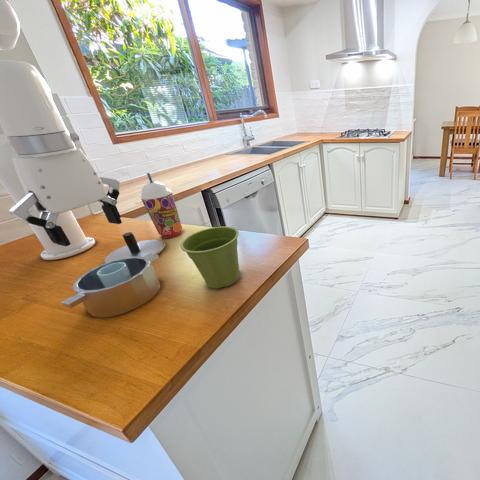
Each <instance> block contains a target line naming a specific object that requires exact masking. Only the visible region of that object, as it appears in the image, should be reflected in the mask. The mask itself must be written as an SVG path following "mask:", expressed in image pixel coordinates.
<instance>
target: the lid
mask: <svg viewBox="0 0 480 480" xmlns="http://www.w3.org/2000/svg"><path fill="white" fill-rule="evenodd" d="M121 236H122V237H123V240H124V242H125V244H126V245H123V246H121V247H119V248H117V249H115V250H113V251H112V252H110V253H109V254H108V255H107V256H106V257H105V258H104V264H105V263H108V262H110V261H113V260H117V259H121V258H126V257H136V256H140V257H144V256H146V255H148V254H150V253H152V254H160V253H161V252H162V251H163V250H164V249H165V246H166V245H165V244H166V243H165V242H164V241H163V240H161V239H145V240H139V241H137V239H136V237H135V235H134V232H131V231H129V232H125V233H123V234H122V235H121Z"/></svg>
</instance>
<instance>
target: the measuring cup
mask: <svg viewBox="0 0 480 480" xmlns="http://www.w3.org/2000/svg"><path fill="white" fill-rule="evenodd" d="M97 275H98V277H99V279H100V280H101V282H102V284H103V286H104V287H105V288H107V287H110V286H114V285H116V284H119V283H121V282H124V281H126V280H128V279H130V278H132V275H131V273H130V271H129V269H128V267H127V265H126V263H124V262H118V263H113V264H110V265H107V266H105V267H103V268H101V269H100V270H99V271H98V272H97Z"/></svg>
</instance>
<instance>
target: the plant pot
mask: <svg viewBox="0 0 480 480" xmlns="http://www.w3.org/2000/svg"><path fill="white" fill-rule="evenodd" d="M239 235H240V232H239V230H238V229H237V228H235V227H232V226H214V227H208V228H205V229H201V230H199V231H196V232H193V233H192V234H189V235H188V236H186V237H185V238H184V239H182V241H181V243H180V245H179V246H180V249H181V250H182V252H185V253H186V254H187V256H188V257H189V259H190V260H192V262H193V264H194V265H195V267H196V269H197V270H198V272H199V273H200V275H201V277H202V278H203V280H204V281H205V283H206V285H207V286H208V287H209V288H211V289H215V290H216V289H217V290H218V289H221V288H224V287H225V288H226V287H229V286H231V285H233V284H234V283H236V282H237V281H238V280H239V279H240V266H239V265H240V264H239V254H238V253H239V252H238V244H239V243H238V237H239Z"/></svg>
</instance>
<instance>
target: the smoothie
mask: <svg viewBox="0 0 480 480" xmlns="http://www.w3.org/2000/svg"><path fill="white" fill-rule="evenodd" d="M146 175H147V177H148V181H149V182H148V183H146V184H145V185H144V186H142V188H141V191H140V196H139V198H140V200H141V202H142V204H143V206H144V208H145V210H146V211H147V214H148V216H149V217H150V221H152V223H153V225H154V228H155V229H156V231H157V233H158V235H160V236H161V237H162V238H164V239H169V238H175V237H177V236H179V235H180V234H181V233H182V231H183V230H182V229H183V225H182V221H181V218H180V216H179V212H178V209H177V204H176V201H175V198H174V194H173V190H171V189H170V188H169V187H168V186H167V185H166V184H164V183H162V182H159V181H153V179H152V176H151V173H150V172H147V173H146Z"/></svg>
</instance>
